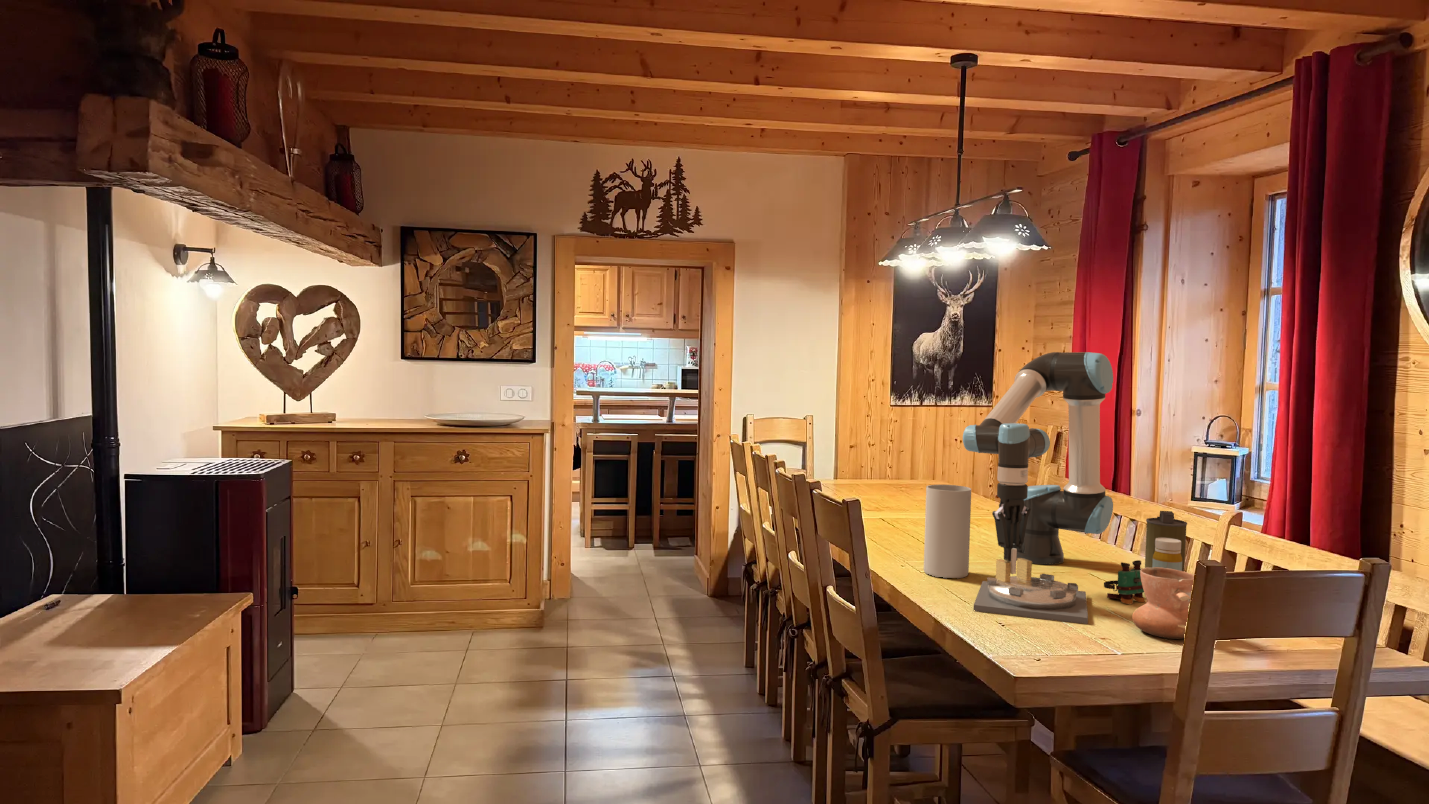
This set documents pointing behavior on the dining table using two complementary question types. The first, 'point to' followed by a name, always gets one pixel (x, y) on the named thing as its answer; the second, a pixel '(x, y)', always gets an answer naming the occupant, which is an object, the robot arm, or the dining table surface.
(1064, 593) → the oval turntable platform
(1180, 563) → the bottle
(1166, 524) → the canister
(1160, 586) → the ceramic jug
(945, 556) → the cylinder vase
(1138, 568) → the binoculars
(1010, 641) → the dining table surface
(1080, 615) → the base board
